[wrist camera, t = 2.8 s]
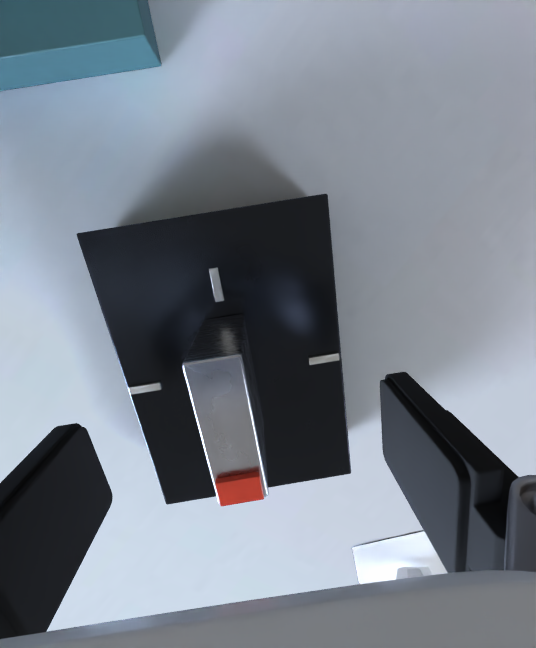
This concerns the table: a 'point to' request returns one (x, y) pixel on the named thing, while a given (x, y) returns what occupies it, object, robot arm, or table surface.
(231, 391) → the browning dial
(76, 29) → the button housing
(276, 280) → the dial panel
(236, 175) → the table surface
